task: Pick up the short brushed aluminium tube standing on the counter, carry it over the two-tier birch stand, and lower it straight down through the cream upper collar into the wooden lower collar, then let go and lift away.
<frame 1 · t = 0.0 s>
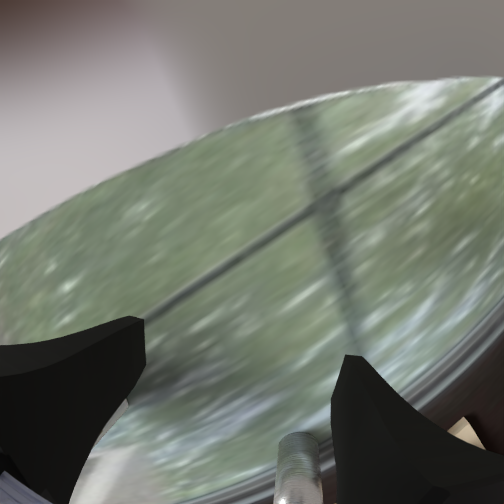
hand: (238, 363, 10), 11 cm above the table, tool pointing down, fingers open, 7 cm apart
tube: (298, 446, 21), on the table
syrup box: (96, 378, 23), on the table
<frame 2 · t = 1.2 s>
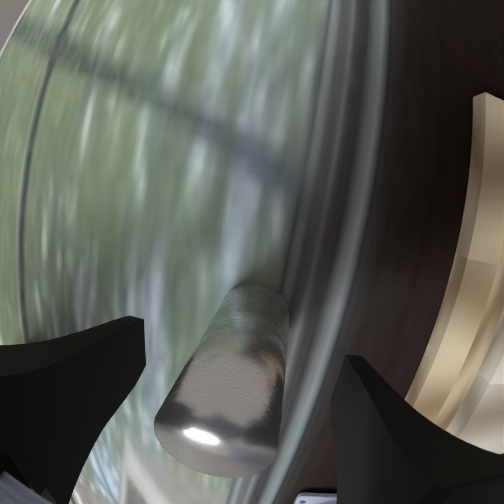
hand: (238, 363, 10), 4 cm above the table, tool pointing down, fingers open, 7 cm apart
tube: (255, 314, 14), on the table
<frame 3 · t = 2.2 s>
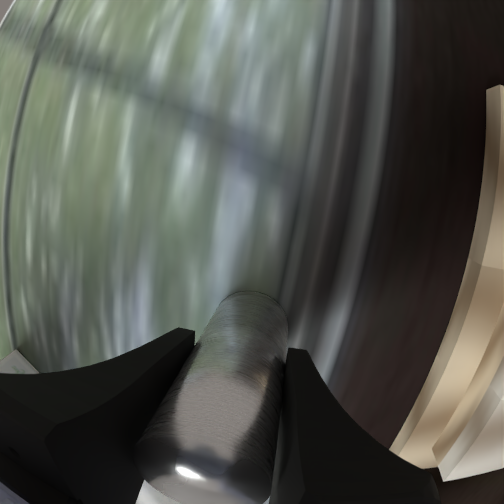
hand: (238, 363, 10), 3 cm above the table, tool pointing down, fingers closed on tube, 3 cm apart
tube: (250, 325, 13), on the table, touching gripper
syrup box: (39, 391, 17), on the table
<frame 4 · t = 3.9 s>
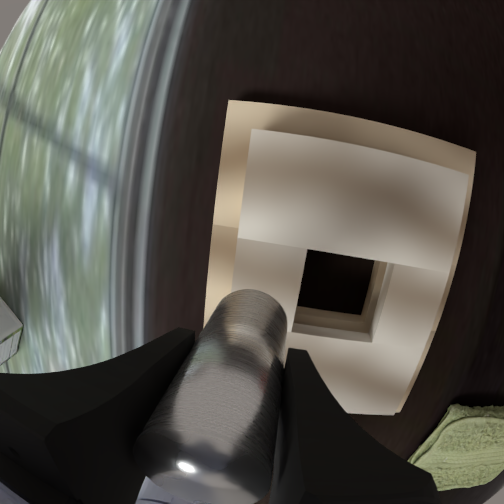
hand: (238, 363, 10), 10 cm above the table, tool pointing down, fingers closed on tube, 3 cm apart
tube: (250, 323, 13), point 7 cm above the table, touching gripper
collar stand: (335, 277, 20), on the table
syrup box: (7, 322, 26), on the table
washcloth: (470, 442, 23), on the table
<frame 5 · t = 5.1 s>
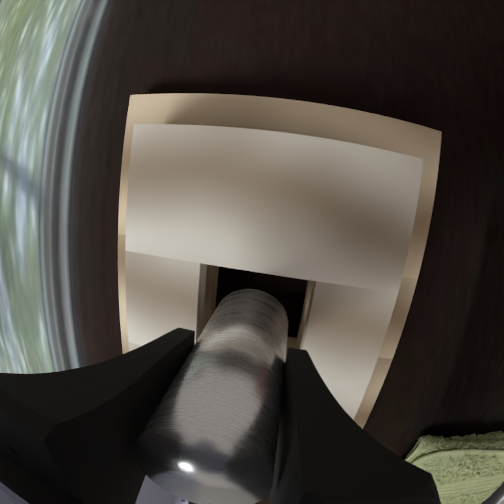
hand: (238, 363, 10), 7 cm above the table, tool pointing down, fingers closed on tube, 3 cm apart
tube: (250, 323, 13), point 4 cm above the table, touching gripper
collar stand: (260, 293, 17), on the table
washcloth: (450, 469, 20), on the table
when the fingers open (5 cm above the table, at t = 6.0 s): tube drops 2 cm, resting in collar stand.
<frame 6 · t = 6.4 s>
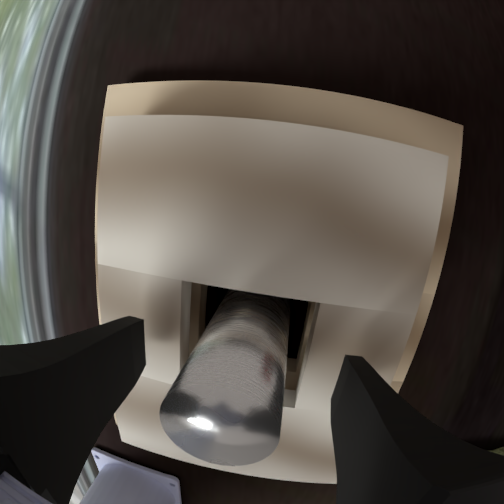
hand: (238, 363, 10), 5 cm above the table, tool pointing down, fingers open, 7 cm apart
tube: (256, 308, 15), resting in collar stand
collar stand: (255, 309, 15), on the table
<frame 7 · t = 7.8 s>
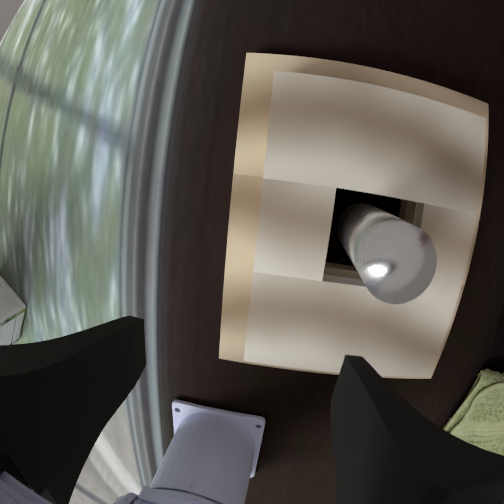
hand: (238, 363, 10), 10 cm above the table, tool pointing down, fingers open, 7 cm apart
tube: (361, 228, 19), resting in collar stand
collar stand: (360, 229, 19), on the table
syrup box: (10, 306, 25), on the table
washcloth: (497, 414, 21), on the table
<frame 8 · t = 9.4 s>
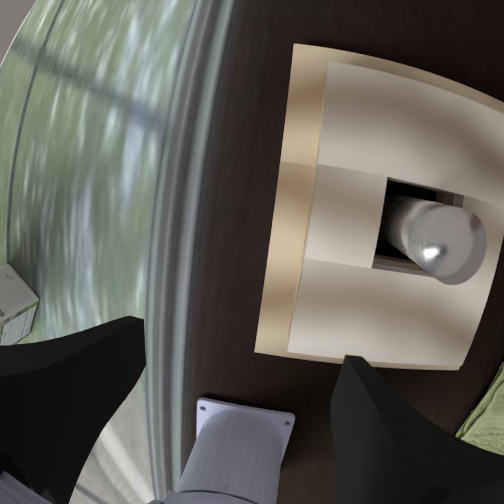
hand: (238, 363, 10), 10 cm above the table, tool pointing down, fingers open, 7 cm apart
tube: (399, 220, 18), resting in collar stand
collar stand: (399, 220, 18), on the table
syrup box: (20, 299, 25), on the table
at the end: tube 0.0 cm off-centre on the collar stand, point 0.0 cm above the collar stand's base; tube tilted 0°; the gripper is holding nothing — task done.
